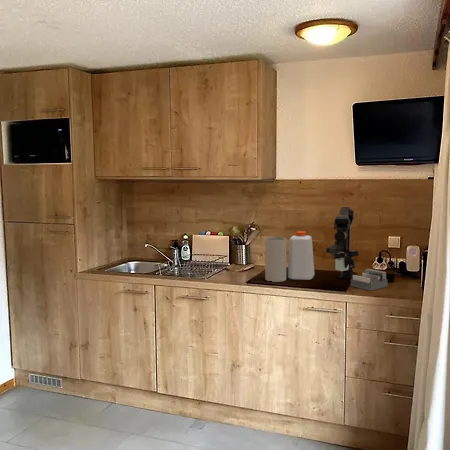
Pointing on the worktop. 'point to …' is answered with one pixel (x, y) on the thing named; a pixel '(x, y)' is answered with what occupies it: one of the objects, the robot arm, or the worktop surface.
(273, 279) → the cylinder vase
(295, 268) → the plastic bottle
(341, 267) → the block
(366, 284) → the base
